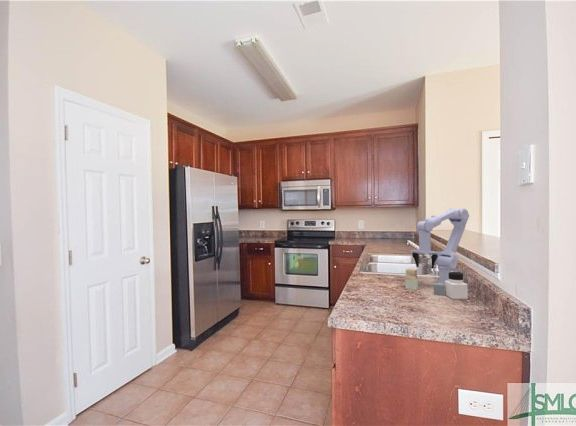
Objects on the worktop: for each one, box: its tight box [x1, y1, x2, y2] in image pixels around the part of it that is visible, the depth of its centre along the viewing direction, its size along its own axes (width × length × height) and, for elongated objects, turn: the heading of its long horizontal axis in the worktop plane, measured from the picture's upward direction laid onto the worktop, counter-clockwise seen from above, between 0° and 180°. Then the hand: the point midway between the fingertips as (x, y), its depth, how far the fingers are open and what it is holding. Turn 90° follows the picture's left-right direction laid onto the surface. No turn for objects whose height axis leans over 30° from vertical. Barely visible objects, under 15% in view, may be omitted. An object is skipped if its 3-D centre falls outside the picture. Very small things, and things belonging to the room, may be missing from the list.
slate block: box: [433, 282, 446, 296], centre depth 140 cm, size 4×4×5 cm
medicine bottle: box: [445, 270, 469, 300], centre depth 134 cm, size 7×7×12 cm
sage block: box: [405, 278, 419, 291], centre depth 151 cm, size 5×5×5 cm
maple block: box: [405, 268, 418, 280], centre depth 151 cm, size 4×4×5 cm
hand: (425, 267), depth 154 cm, fingers open, 7 cm apart
